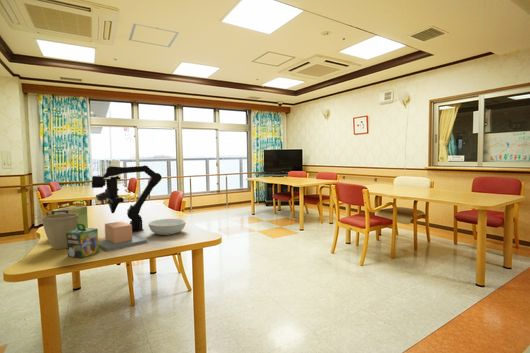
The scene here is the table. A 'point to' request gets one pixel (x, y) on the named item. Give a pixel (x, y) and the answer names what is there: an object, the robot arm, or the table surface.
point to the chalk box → (82, 242)
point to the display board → (121, 243)
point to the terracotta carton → (118, 232)
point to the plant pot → (59, 228)
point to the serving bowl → (166, 226)
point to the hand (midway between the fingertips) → (112, 213)
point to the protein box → (78, 210)
